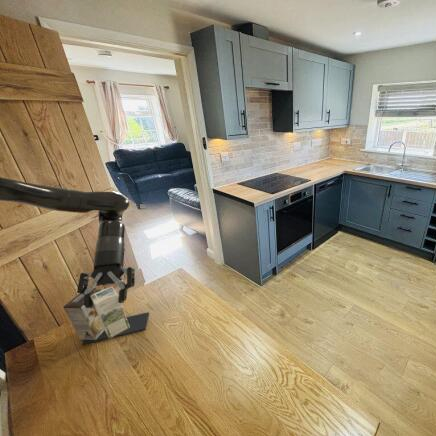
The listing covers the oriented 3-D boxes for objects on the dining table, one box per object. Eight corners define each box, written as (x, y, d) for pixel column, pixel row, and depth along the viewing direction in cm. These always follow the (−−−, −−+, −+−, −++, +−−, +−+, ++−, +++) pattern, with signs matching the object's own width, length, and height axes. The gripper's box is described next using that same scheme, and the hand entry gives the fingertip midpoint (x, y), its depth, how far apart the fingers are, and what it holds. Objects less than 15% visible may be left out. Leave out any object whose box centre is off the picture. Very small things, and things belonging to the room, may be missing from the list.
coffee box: (98, 320, 95) (84, 288, 89) (113, 320, 95) (101, 288, 88) (78, 340, 87) (62, 306, 80) (96, 340, 87) (81, 307, 80)
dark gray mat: (82, 345, 85) (81, 344, 85) (91, 326, 93) (91, 325, 93) (145, 329, 92) (145, 328, 92) (149, 313, 100) (148, 312, 99)
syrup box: (124, 318, 80) (111, 284, 74) (130, 328, 77) (118, 293, 71) (103, 329, 76) (88, 294, 70) (109, 340, 73) (94, 304, 67)
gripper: (76, 252, 71) (68, 309, 65) (130, 246, 74) (127, 300, 69) (90, 257, 78) (84, 309, 72) (139, 252, 81) (137, 301, 76)
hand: (105, 305), depth 71 cm, fingers closed on syrup box, 8 cm apart
